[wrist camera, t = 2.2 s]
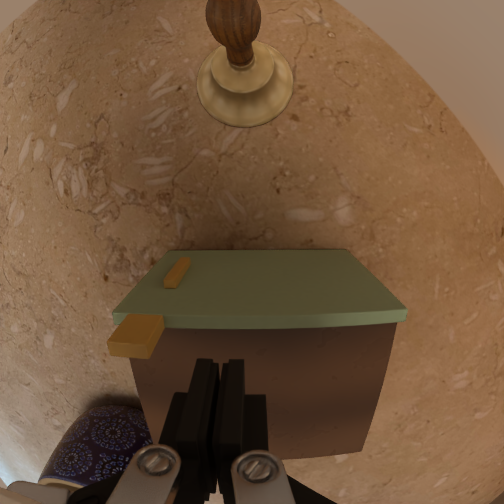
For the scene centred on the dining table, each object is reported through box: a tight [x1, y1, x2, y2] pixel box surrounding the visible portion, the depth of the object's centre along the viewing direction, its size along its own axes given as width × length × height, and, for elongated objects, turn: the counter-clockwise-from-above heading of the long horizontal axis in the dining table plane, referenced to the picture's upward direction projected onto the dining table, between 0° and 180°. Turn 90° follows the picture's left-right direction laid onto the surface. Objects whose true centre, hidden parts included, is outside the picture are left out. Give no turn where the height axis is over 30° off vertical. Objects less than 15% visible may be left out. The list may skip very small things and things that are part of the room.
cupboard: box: [129, 322, 397, 460], centre depth 24 cm, size 12×16×12 cm
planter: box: [38, 405, 153, 492], centre depth 28 cm, size 17×17×15 cm
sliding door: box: [107, 249, 408, 359], centre depth 20 cm, size 1×16×16 cm, turn 90°
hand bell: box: [197, 0, 294, 127], centre depth 16 cm, size 8×8×16 cm
